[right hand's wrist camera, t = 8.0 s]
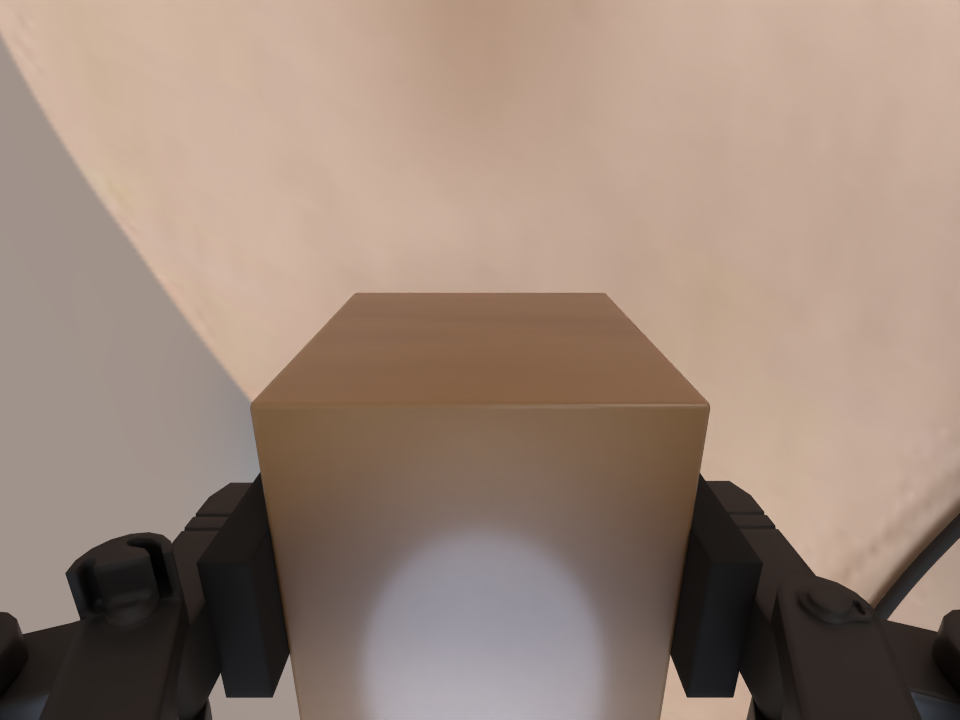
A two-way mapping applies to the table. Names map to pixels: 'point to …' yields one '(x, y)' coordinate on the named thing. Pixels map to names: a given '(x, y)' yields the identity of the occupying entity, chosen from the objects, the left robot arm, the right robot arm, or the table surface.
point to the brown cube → (480, 508)
